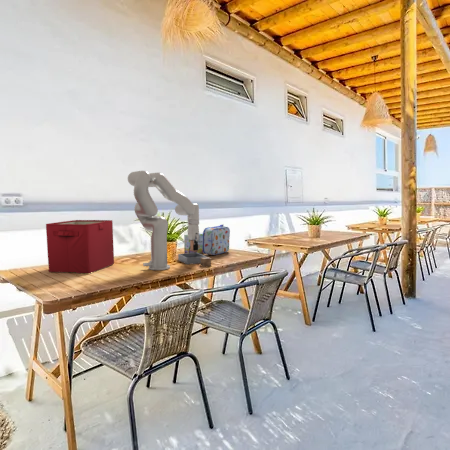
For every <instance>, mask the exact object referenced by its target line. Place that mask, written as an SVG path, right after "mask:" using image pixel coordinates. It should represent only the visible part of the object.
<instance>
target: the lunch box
mask: <svg viewBox="0 0 450 450" xmlns="http://www.w3.org/2000/svg"><path fill="white" fill-rule="evenodd" d="M230 232H231V230H230V227H228V226H224V224H219V225H217V226H210V227H209V226H208V227H205V228H203V232H202V233H203V255H209V256H215V255H216V256H217V255H220V254H224V253H228V252H229V250H230V238H231V237H230V236H231V234H230Z"/></svg>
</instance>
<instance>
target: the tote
mask: <svg viewBox="0 0 450 450" xmlns="http://www.w3.org/2000/svg"><path fill="white" fill-rule="evenodd" d="M177 254H178V256H177V257H178V261H179V262H181V263H184V264H185V265H195V264H201V258H203V257H207V256H206V255H205V254H202V253H185V254H184V253H177Z"/></svg>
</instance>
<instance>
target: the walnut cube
mask: <svg viewBox="0 0 450 450" xmlns="http://www.w3.org/2000/svg"><path fill="white" fill-rule="evenodd" d="M200 266H201V267H203V268H205V267H206V266H207V267H212V258H211V257H209V256H206V257H203V258H201V263H200Z"/></svg>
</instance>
